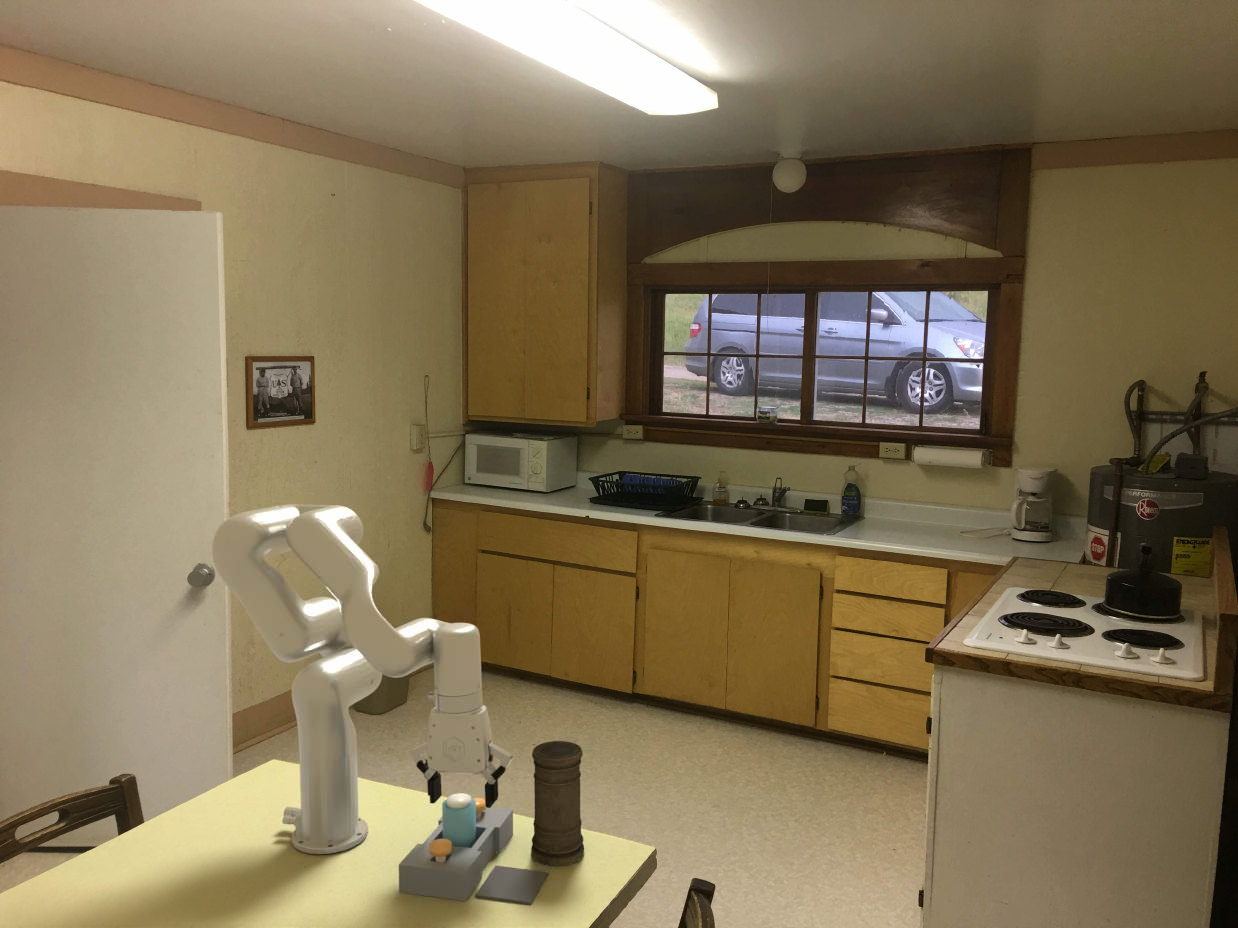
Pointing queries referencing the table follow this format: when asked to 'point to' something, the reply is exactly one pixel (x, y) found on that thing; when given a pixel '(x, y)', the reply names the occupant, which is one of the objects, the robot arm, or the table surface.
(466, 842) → the cartridge
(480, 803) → the orange mushroom peg
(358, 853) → the table surface
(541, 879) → the mat
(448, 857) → the housing
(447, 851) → the plunger
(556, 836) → the container
